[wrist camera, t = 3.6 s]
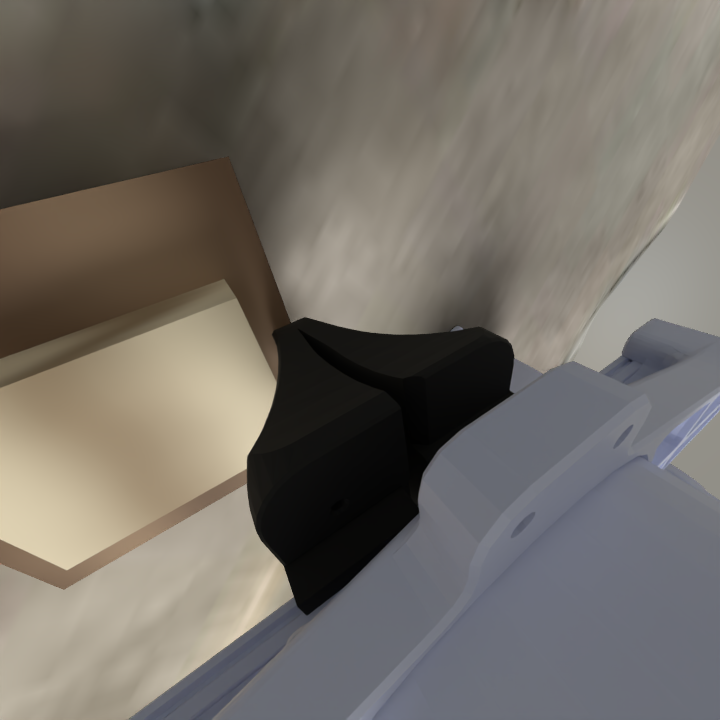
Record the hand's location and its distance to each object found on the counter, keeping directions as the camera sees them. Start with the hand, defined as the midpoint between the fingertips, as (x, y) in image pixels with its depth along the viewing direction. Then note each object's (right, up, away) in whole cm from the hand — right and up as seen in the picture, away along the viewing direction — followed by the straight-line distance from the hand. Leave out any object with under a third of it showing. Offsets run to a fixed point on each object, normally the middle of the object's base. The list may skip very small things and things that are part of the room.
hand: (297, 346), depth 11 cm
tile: (-5, -2, -1) cm, 5 cm away
